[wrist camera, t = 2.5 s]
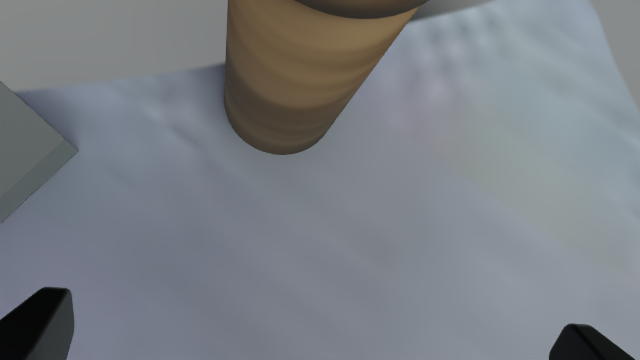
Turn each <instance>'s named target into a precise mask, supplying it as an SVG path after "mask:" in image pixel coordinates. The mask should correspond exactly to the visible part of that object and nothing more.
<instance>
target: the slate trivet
mask: <svg viewBox="0 0 640 360" xmlns="http://www.w3.org/2000/svg"><path fill="white" fill-rule="evenodd" d="M77 152H78V150H77V149H76V148H75V147H73V146H72V145H71V144H70V143H69V142H68V141H67V140H66V139H65V138H64V137H63V136H61V135H60V134H59V133H58V132H57V131H56V130H55V129H54V128H52V127H51V126H50V125H49V124H48V123H47V122H46V121H45V120H43V119H42V118H41V117H40V116H39V115H38V114H37V113H36V112H35V111H33V110H32V109H31V108H30V107H29V106H28V105H27V104H26V103H24V102H23V101H22V100H21V99H20V98H19V97H18V96H17V95H16V94H14V93H13V92H12V91H11V90H10V89H9V88H7V86H5V85H4V84H3V83H2V82H1V81H0V223H1V222H2V221H4V220H5V219H6V218H7V217H8V216H9V215H10V214H11V213H12V212H13V211H14V210H15V209H17V208H18V207H19V206H20V205H21V204H22V203H23V202H24V201H25V200H26V199H27V198H28V197H29V196H31V195H32V194H33V193H34V192H35V191H36V190H37V189H38V188H39V187H40V186H41V185H42V184H43V183H45V182H46V181H47V180H48V179H49V178H50V177H51V176H52V175H53V174H54V173H55V172H56V171H58V170H59V169H60V168H61V167H62V166H63V165H64V164H65V163H66V162H67V161H68V160H69V159H70V158H72V157H73V156H74V155H75V154H76V153H77Z"/></svg>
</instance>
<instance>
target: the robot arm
mask: <svg viewBox="0 0 640 360" xmlns="http://www.w3.org/2000/svg"><path fill="white" fill-rule="evenodd" d="M73 333H74V313H73V303H72V294H71V292H70V290H69V289H67V288H58V287H43V288H41V289H40V290H38V291H37V292H36V293H34V294H33V295H32V296H30V297H29V298H28V299H27V300H25V301H24V302H23V303H21V304H20V305H19V306H17V307H16V308H15V309H14V310H12V311H11V312H10V313H8V314H7V315H6V316H5V317H3V318H2V319H1V320H0V360H66V358H67V355H68V351H69V348H70V344H71V341H72V337H73ZM549 360H635V359H634V358H632V357H631V356H630V355H629V354H627V353H626V352H625V351H623V350H622V349H621V348H619V347H618V346H617V345H615V344H614V343H613V342H611V341H610V340H609V339H608V338H606V337H605V336H604V335H602V334H601V333H600V332H598V331H597V330H596V329H594V328H593V327H592V326H589V325H586V324H568V325H566V326H565V327H564V328H563V330H562V332H561V333H560V335H559V337H558V338H557V340H556V342H555V344H554V345H553V347H552V349H551V351H550V354H549Z"/></svg>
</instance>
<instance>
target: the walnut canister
mask: <svg viewBox="0 0 640 360" xmlns="http://www.w3.org/2000/svg"><path fill="white" fill-rule="evenodd" d="M427 1H429V0H228V15H227V16H228V17H227V41H226V65H225V90H224V104H225V110H226V114H227V117H228V120H229V122H230V124H231V125H232V127H233V129H234V130H235V131H236V133H237V134H238V135H239V136H240V137H241V138H242V139H243V140H244V141H245V142H247V143H248V144H249V145H251V146H253V147H254V148H256V149H258V150H261V151H263V152H267V153H271V154H278V155H286V154H294V153H298V152H301V151H304V150H306V149H308V148H310V147H311V146H313V145H314V144H316V143H317V142H318V141H319V140H320V139H321V138H322V137H323V136H324V135H325V133H326V132H327V131H328V129H329V128H330V127H331V125H332V124H333V123H334V121H335V120H336V118H337V117H338V116H339V114H340V113H341V112H342V110H343V109H344V108H345V106H346V105H347V104H348V102H349V101H350V100H351V98H352V97H353V96H354V94H355V93H356V91H357V90H358V89H359V87H360V86H361V85H362V83H363V82H364V81H365V79H366V78H367V77H368V75H369V74H370V73H371V71H372V70H373V69H374V67H375V66H376V64H377V63H378V62H379V60H380V59H381V58H382V56H383V55H384V54H385V52H386V51H387V50H388V48H389V47H390V46H391V44H392V43H393V42H394V40H395V39H396V37H397V36H398V35H399V33H400V32H401V31H402V29H403V28H404V27H405V25H406V24H407V23H408V21H409V20H410V19H411V17H412V16H413V14H414V13H415V12H416V10H417V9H418V8H419V6H421V5H422V4H424V3H426V2H427Z"/></svg>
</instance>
